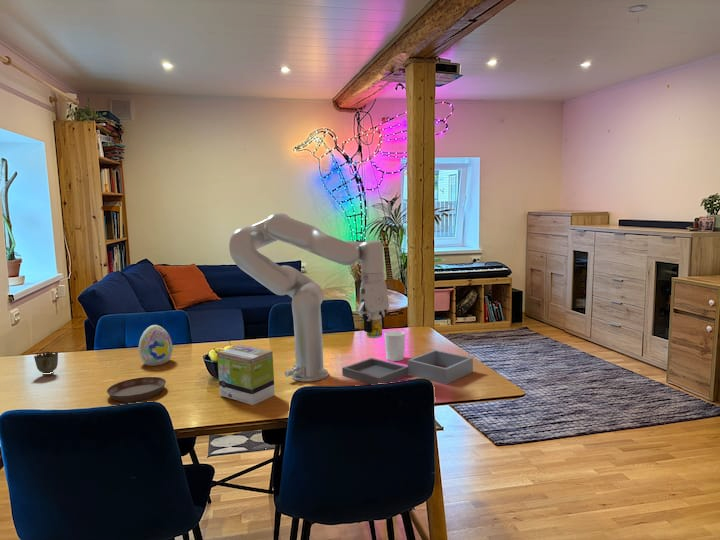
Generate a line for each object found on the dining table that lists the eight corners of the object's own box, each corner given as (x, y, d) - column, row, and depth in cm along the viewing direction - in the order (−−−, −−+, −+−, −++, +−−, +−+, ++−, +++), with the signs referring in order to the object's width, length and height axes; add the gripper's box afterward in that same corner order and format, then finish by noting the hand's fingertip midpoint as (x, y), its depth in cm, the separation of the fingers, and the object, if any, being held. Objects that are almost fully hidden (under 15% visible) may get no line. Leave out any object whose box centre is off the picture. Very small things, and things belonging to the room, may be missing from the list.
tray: (378, 386, 164) (378, 378, 164) (342, 375, 176) (342, 367, 176) (408, 374, 175) (407, 366, 175) (371, 365, 187) (371, 357, 187)
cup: (64, 372, 189) (62, 351, 188) (47, 379, 182) (45, 357, 181) (48, 371, 191) (46, 350, 190) (31, 378, 184) (29, 356, 183)
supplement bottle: (383, 334, 176) (382, 307, 175) (380, 338, 171) (380, 310, 170) (368, 334, 177) (367, 307, 176) (365, 338, 172) (364, 310, 171)
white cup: (404, 362, 189) (403, 336, 188) (383, 361, 191) (382, 335, 190) (406, 355, 197) (406, 330, 196) (386, 355, 199) (385, 330, 197)
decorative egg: (144, 369, 189) (140, 330, 187) (136, 362, 199) (133, 325, 197) (177, 363, 196) (174, 325, 195) (168, 356, 206) (165, 320, 204)
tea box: (218, 397, 160) (215, 351, 158) (242, 387, 168) (239, 343, 166) (252, 406, 151) (249, 358, 150) (276, 395, 160) (273, 349, 158)
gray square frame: (446, 384, 165) (446, 369, 164) (407, 374, 176) (407, 360, 175) (472, 371, 176) (472, 357, 175) (435, 362, 187) (434, 349, 187)
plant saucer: (99, 395, 165) (98, 386, 165) (153, 381, 177) (152, 372, 177) (119, 409, 153) (118, 399, 152) (175, 393, 165) (175, 384, 164)
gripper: (363, 281, 163) (364, 337, 165) (397, 275, 175) (398, 326, 177) (346, 280, 168) (348, 333, 170) (381, 273, 180) (382, 323, 182)
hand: (374, 329), depth 174 cm, fingers closed on supplement bottle, 5 cm apart
